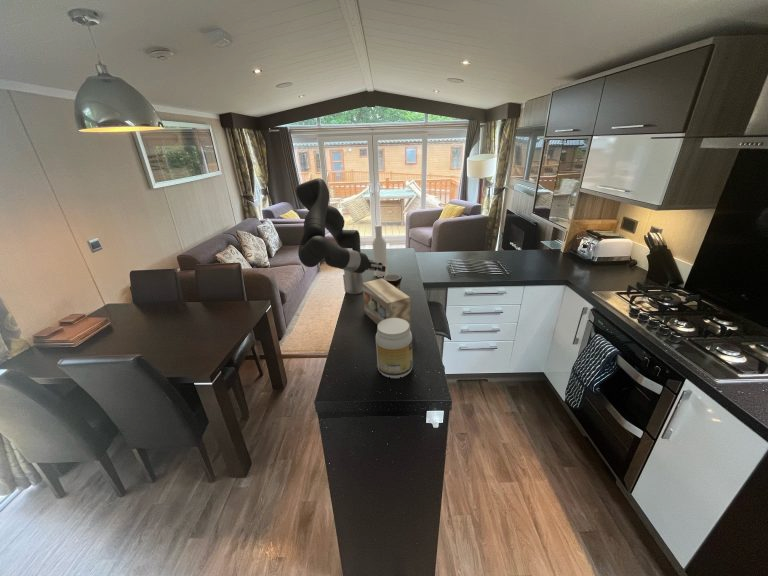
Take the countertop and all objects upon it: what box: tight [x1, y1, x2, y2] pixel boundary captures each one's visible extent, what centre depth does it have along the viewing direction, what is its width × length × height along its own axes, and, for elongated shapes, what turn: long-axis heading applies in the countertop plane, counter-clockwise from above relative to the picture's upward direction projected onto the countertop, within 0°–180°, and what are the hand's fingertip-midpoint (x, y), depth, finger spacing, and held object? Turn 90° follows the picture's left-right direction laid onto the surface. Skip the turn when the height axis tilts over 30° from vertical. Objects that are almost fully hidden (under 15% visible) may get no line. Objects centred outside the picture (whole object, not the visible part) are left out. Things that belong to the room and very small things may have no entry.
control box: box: [362, 277, 411, 329], centre depth 134 cm, size 10×24×15 cm, turn 27°
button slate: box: [379, 307, 386, 318], centre depth 125 cm, size 2×4×4 cm, turn 28°
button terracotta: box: [363, 294, 370, 304], centre depth 137 cm, size 2×4×4 cm, turn 27°
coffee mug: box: [383, 273, 403, 291], centre depth 159 cm, size 12×9×10 cm
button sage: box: [368, 300, 377, 311], centre depth 131 cm, size 2×4×4 cm, turn 28°
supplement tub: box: [375, 318, 414, 379], centre depth 103 cm, size 12×12×17 cm
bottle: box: [372, 224, 388, 278], centre depth 181 cm, size 8×8×30 cm
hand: (383, 269), depth 122 cm, fingers closed
